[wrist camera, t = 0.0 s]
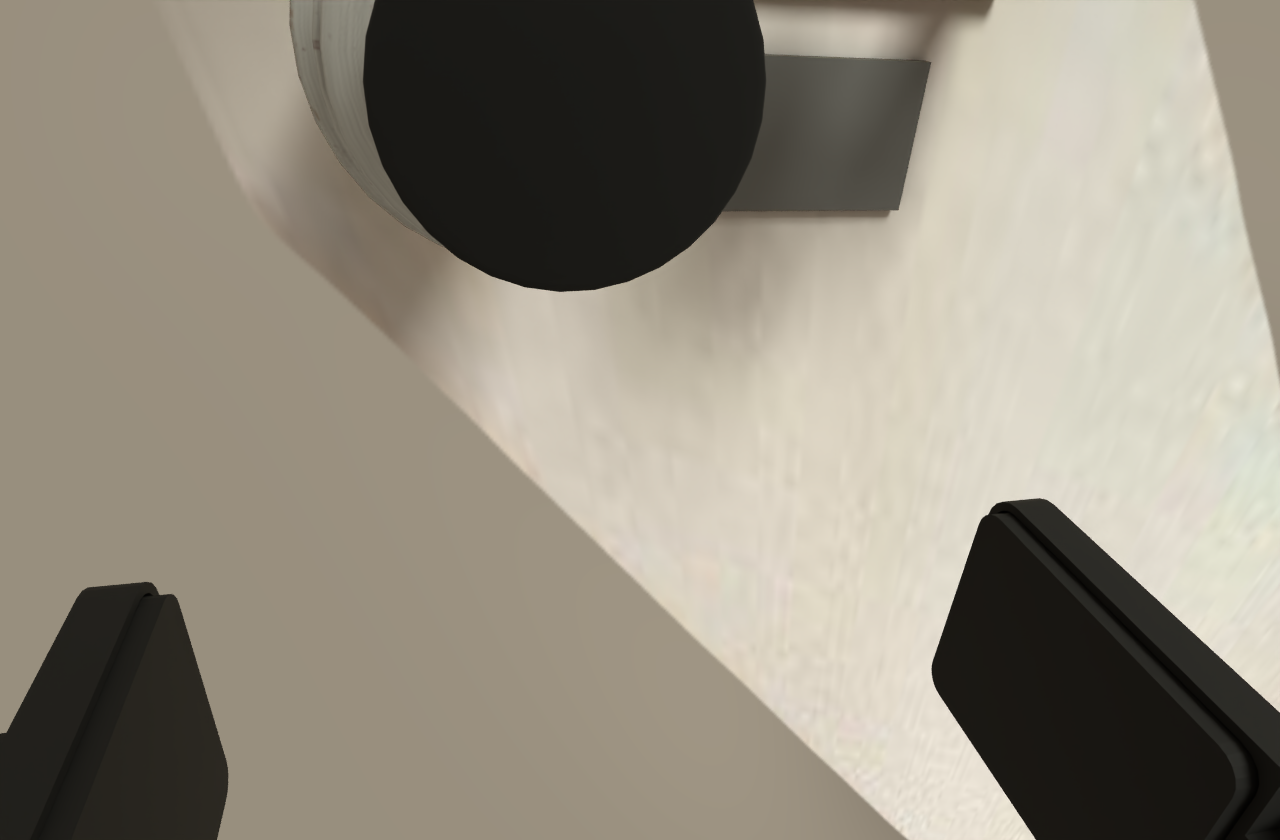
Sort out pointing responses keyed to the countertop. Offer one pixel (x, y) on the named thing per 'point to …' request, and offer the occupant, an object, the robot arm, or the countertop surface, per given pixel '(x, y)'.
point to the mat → (833, 134)
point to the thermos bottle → (540, 123)
